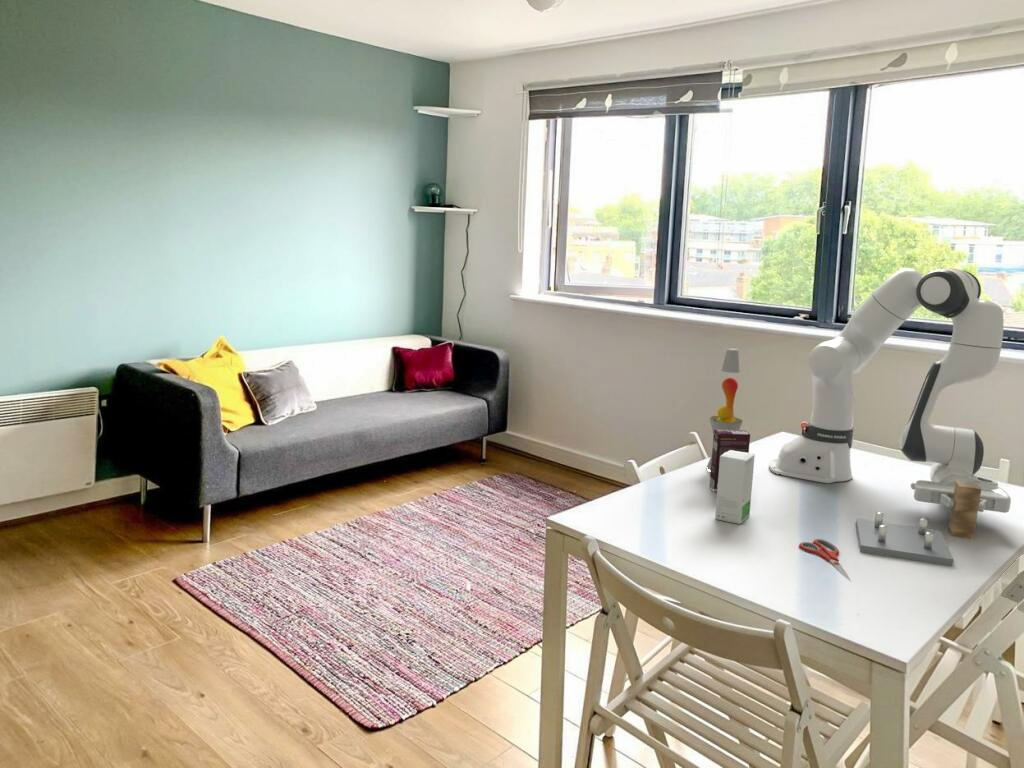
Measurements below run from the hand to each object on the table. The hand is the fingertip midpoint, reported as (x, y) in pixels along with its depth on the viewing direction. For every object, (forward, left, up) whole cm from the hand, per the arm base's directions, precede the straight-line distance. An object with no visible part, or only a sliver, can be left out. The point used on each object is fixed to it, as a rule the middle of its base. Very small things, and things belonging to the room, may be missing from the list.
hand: (965, 506), depth 189 cm
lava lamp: (-57, +27, -7) cm, 63 cm away
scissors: (-28, -30, -8) cm, 41 cm away
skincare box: (-51, -11, -7) cm, 53 cm away
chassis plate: (-14, -12, -7) cm, 20 cm away
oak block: (0, +1, -7) cm, 7 cm away
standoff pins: (-14, -12, -6) cm, 19 cm away
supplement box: (-54, +10, -7) cm, 55 cm away
